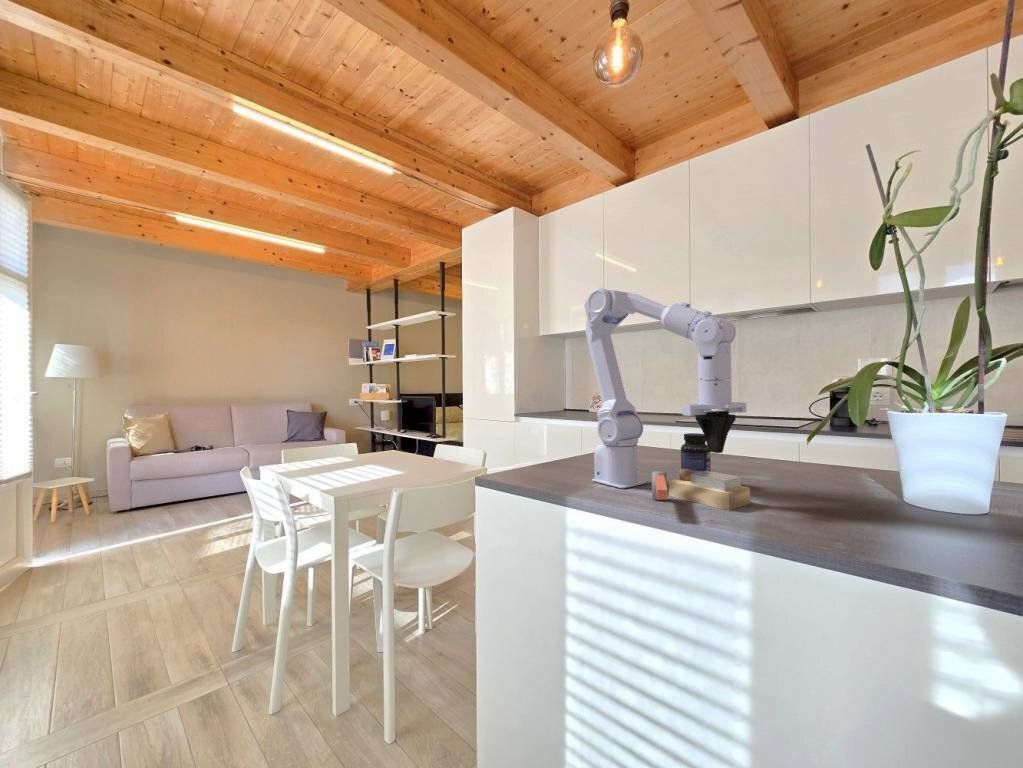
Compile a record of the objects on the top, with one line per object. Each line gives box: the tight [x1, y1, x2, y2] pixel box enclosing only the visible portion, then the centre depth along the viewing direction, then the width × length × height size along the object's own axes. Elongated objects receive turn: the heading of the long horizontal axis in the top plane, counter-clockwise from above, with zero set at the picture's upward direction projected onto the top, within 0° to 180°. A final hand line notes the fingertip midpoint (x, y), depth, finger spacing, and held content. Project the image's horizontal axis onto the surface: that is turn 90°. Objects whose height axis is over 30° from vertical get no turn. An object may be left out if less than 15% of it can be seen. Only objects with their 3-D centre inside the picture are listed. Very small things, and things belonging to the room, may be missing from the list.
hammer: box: [651, 470, 669, 501], centre depth 80 cm, size 14×3×5 cm, turn 164°
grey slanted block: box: [691, 470, 742, 492], centre depth 83 cm, size 7×5×2 cm
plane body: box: [668, 468, 751, 511], centre depth 85 cm, size 12×7×5 cm, turn 33°
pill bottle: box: [680, 432, 712, 474], centre depth 98 cm, size 6×6×11 cm
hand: (715, 452), depth 83 cm, fingers closed
